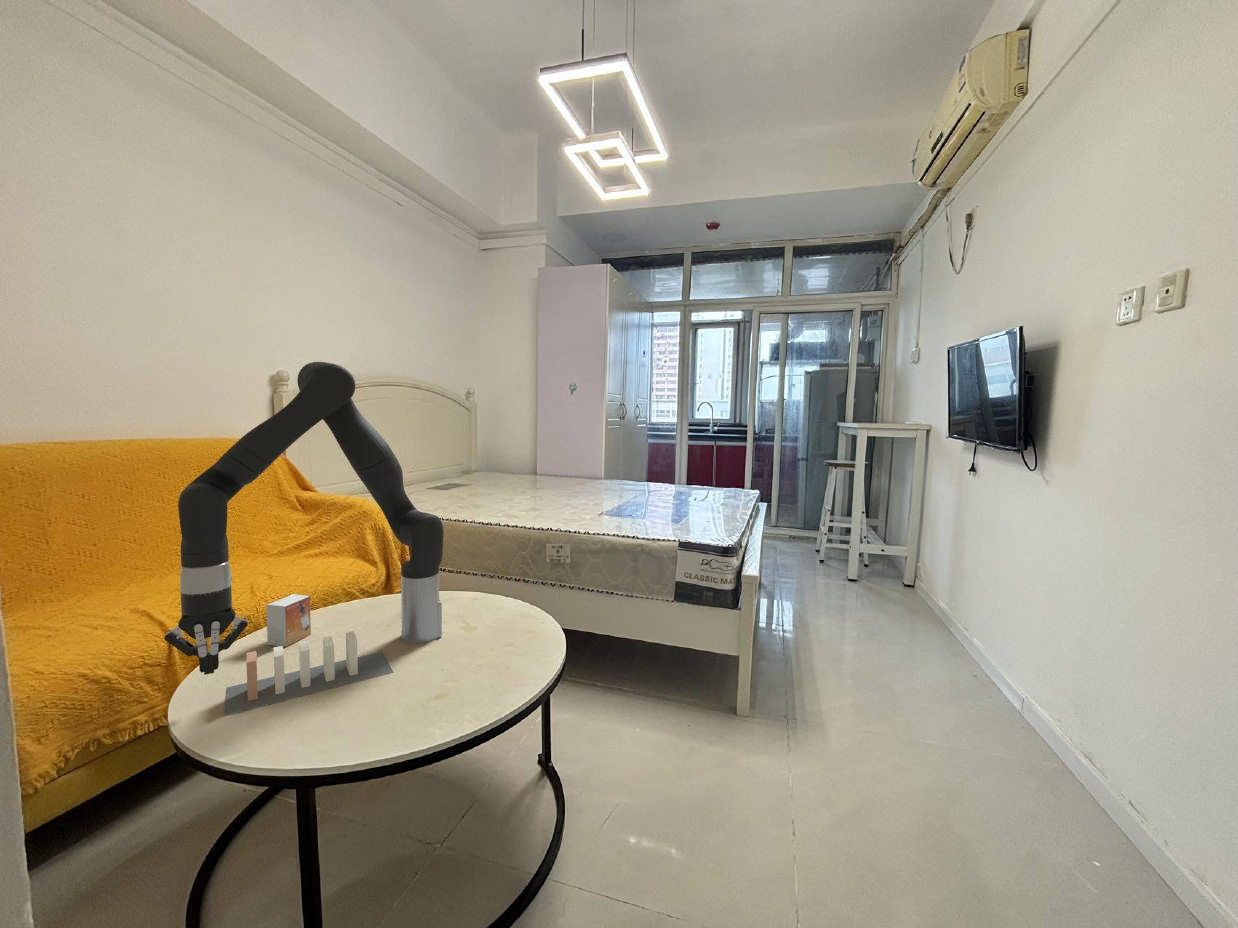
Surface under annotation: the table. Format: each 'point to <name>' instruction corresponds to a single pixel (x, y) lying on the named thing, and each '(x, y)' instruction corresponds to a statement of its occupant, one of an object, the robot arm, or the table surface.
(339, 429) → the robot arm
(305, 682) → the domino
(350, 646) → the domino
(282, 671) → the domino
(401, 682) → the table surface
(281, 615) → the small box
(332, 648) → the domino
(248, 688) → the domino
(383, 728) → the table surface
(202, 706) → the table surface
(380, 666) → the mat
